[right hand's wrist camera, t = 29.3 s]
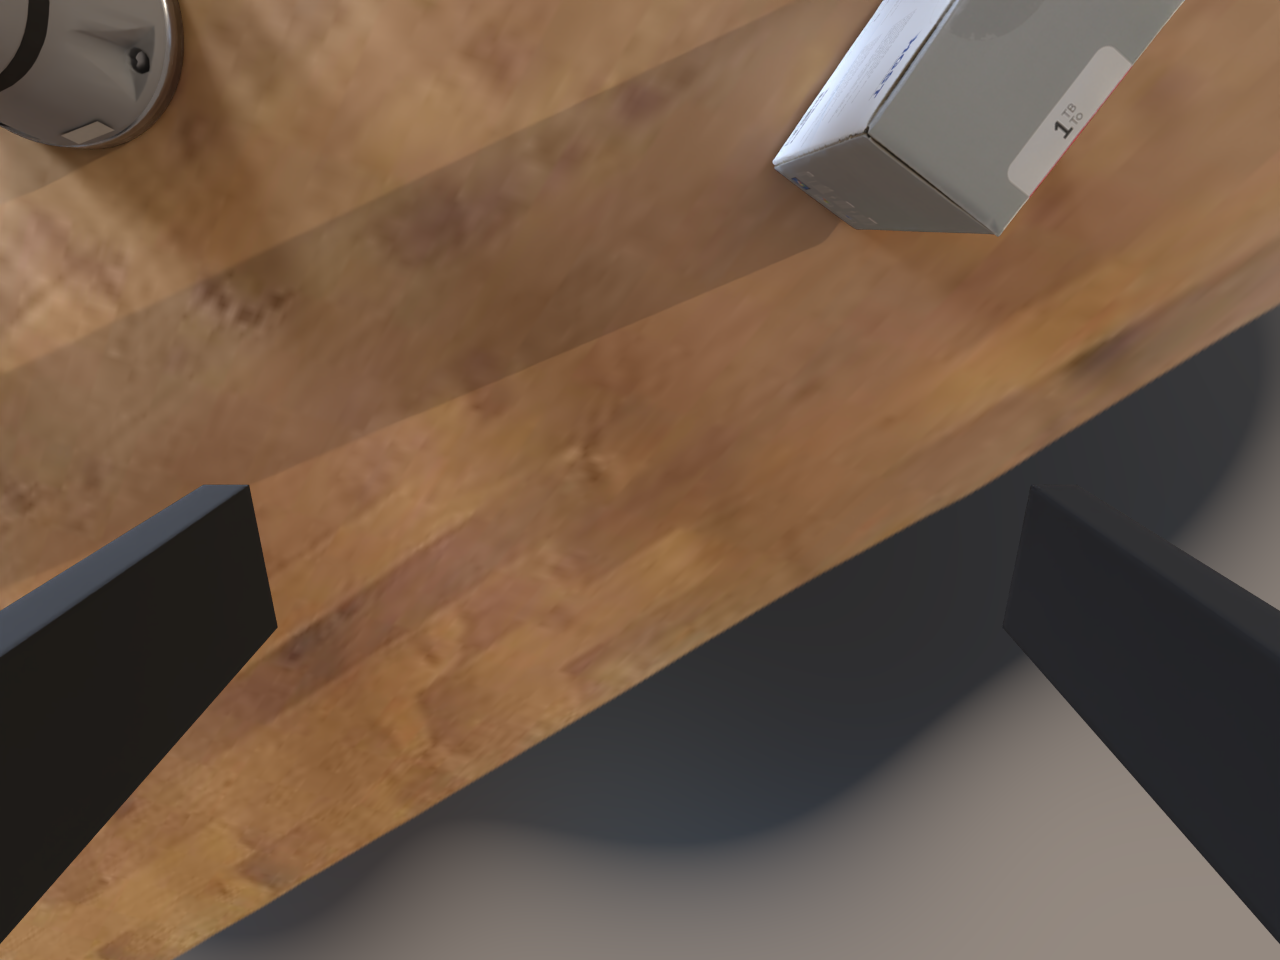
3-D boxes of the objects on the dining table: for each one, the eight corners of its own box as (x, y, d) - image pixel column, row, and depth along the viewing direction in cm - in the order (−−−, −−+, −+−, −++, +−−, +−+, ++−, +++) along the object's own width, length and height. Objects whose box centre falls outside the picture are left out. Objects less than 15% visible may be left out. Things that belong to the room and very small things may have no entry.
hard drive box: (858, 234, 49) (993, 246, 30) (768, 165, 47) (851, 134, 29) (1020, 12, 44) (1297, -134, 26) (926, -71, 43) (1148, -290, 24)
